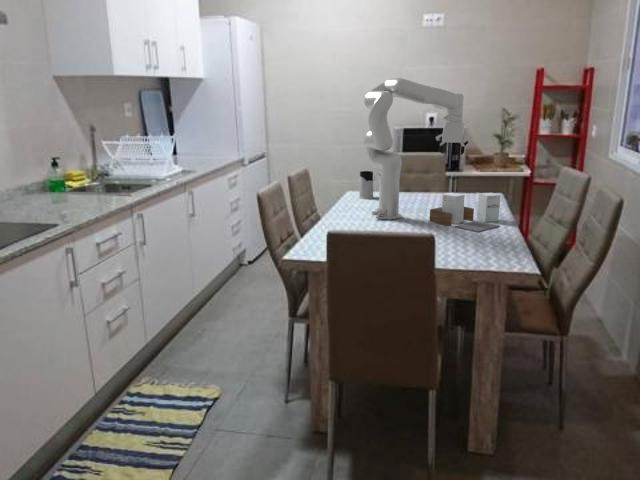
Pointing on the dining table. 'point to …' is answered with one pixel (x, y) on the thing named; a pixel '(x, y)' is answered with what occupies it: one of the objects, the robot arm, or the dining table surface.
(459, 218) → the small box
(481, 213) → the supplement box
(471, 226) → the mat
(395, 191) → the robot arm
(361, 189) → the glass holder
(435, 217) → the cubby
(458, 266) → the dining table surface
